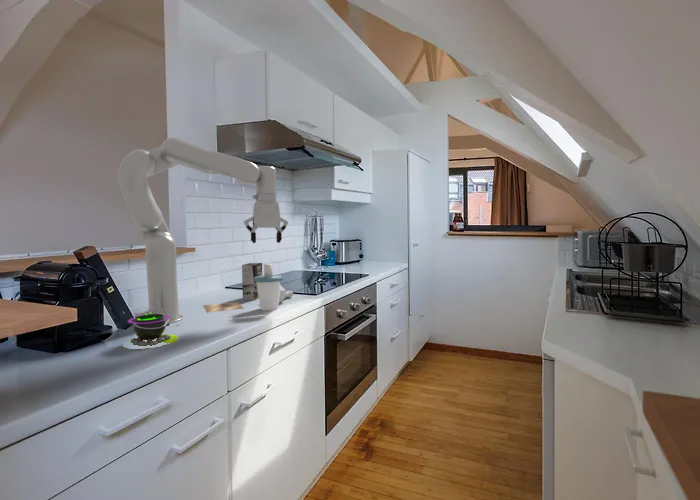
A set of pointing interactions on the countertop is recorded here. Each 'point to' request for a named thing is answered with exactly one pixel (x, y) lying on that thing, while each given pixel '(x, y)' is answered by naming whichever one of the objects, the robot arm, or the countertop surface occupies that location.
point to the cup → (269, 295)
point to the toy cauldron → (151, 329)
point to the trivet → (222, 307)
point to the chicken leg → (284, 294)
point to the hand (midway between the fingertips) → (266, 242)
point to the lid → (268, 275)
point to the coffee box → (250, 280)
